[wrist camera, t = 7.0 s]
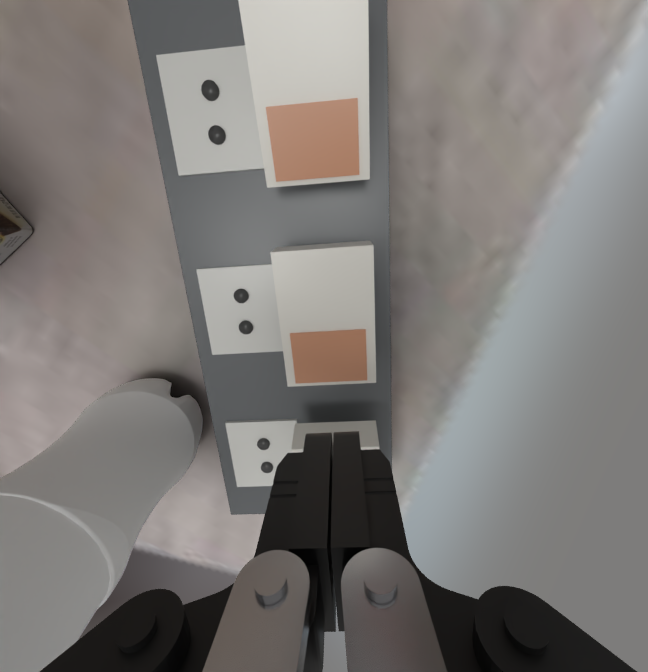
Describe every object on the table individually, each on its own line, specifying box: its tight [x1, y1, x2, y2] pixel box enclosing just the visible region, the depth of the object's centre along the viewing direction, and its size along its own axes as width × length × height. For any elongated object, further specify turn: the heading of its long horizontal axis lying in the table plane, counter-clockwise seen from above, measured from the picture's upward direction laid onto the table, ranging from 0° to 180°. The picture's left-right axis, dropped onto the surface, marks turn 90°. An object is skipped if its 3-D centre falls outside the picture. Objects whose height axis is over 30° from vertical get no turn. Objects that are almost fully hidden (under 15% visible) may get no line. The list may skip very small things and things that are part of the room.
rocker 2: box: [270, 241, 376, 387], centre depth 15 cm, size 6×4×2 cm, turn 4°
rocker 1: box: [238, 0, 370, 188], centre depth 12 cm, size 6×4×2 cm, turn 4°
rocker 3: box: [291, 420, 379, 453], centre depth 18 cm, size 6×4×2 cm, turn 4°
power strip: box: [128, 0, 392, 515], centre depth 19 cm, size 26×10×6 cm, turn 4°
